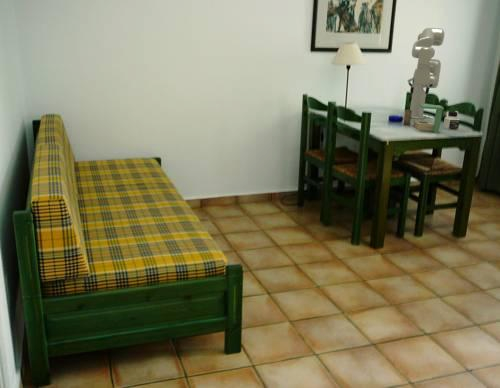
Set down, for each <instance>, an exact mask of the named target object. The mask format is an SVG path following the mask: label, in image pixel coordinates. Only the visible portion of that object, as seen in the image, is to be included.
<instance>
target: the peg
mask: <svg viewBox="0 0 500 388" xmlns="http://www.w3.org/2000/svg"><path fill="white" fill-rule="evenodd" d="M404 113H405V114H404V119H403V126H411V119H412V118H411V113H412V110H410V109H405V112H404Z"/></svg>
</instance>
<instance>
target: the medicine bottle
mask: <svg viewBox="0 0 500 388" xmlns="http://www.w3.org/2000/svg"><path fill="white" fill-rule="evenodd" d="M458 115H459V111H457V110H448V113H447V117H444V121H443V125H442V128H443V129H444V130H445V129H446V130H448V131H458V130H459V127H460V121H461V119H459V118H458Z"/></svg>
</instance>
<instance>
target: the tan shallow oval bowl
mask: <svg viewBox="0 0 500 388" xmlns="http://www.w3.org/2000/svg"><path fill="white" fill-rule="evenodd" d="M412 125H413V127H414V128H415V129H417V130H418V131H428V132H429V131H430V132H433V127H434V123H432V122H430V121H426V120H425V121H424V120H413V124H412Z"/></svg>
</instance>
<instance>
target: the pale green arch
mask: <svg viewBox="0 0 500 388" xmlns="http://www.w3.org/2000/svg"><path fill="white" fill-rule="evenodd" d="M419 106H420V107H421V108H424V109H425V110H426V109H428V110H435V117H434V122H433V125H434V127H433V131H432V133H435V134H438V133H440V126H441V122H442V115H443V110H445V108H444V107H443V106H442V105H439V104H438V105H436V104H419Z"/></svg>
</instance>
